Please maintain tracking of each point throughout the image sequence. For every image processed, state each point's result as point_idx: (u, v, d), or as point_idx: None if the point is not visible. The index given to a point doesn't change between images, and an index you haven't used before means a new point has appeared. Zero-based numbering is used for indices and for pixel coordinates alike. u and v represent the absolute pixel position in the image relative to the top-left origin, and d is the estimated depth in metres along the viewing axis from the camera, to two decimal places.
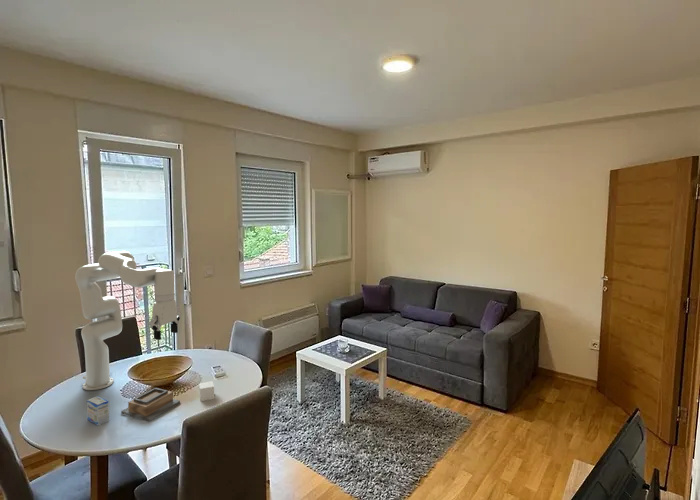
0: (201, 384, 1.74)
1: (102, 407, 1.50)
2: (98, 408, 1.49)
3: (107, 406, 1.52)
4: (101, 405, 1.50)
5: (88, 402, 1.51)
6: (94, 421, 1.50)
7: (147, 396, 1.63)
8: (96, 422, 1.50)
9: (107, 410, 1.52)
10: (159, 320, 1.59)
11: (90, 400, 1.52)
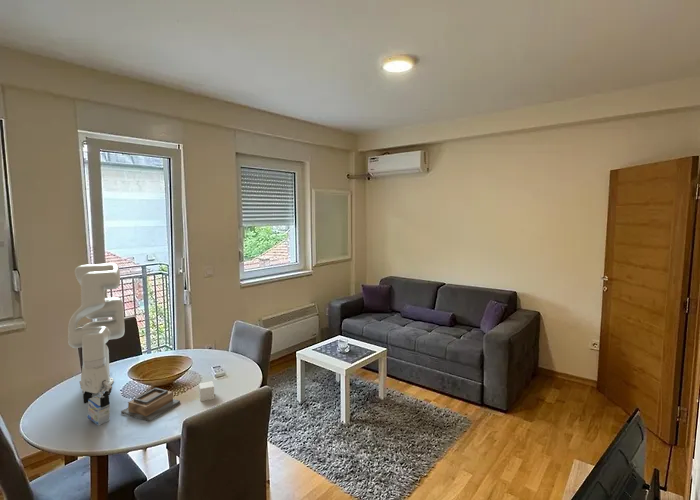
0: (201, 384, 1.74)
1: (103, 408, 1.50)
2: (99, 409, 1.48)
3: (108, 407, 1.51)
4: None
5: (89, 401, 1.51)
6: (94, 420, 1.50)
7: (147, 396, 1.63)
8: (96, 422, 1.50)
9: (108, 410, 1.52)
10: None
11: (91, 399, 1.51)
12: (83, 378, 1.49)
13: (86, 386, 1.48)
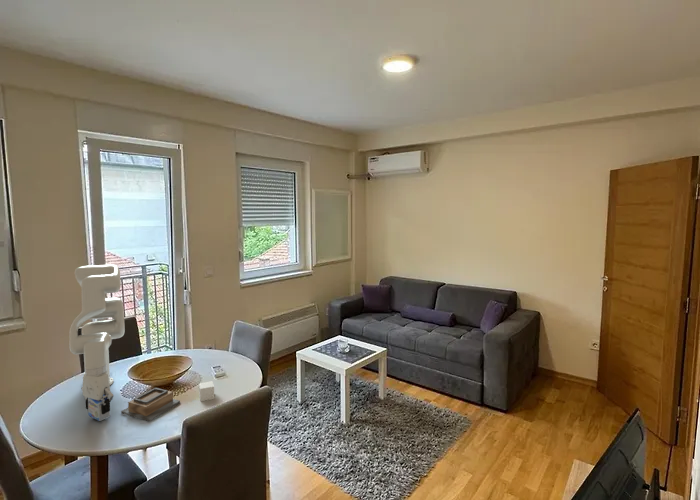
0: (201, 384, 1.74)
1: None
2: (99, 405, 1.50)
3: None
4: None
5: (89, 398, 1.52)
6: (95, 417, 1.51)
7: (147, 396, 1.63)
8: (97, 418, 1.51)
9: None
10: None
11: None
12: (85, 385, 1.50)
13: (88, 392, 1.50)
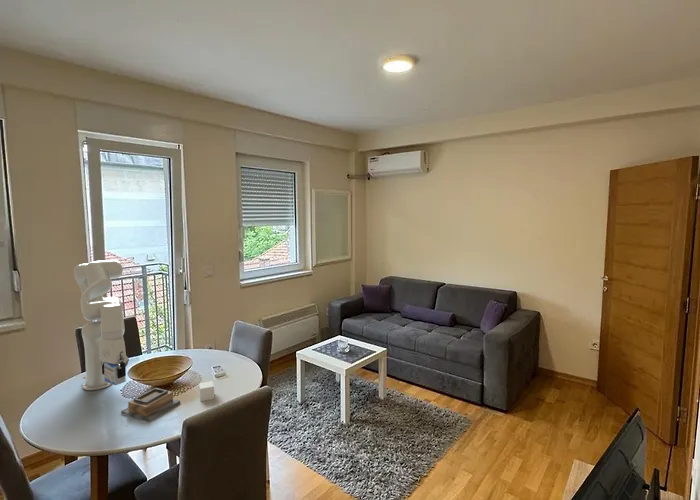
0: (201, 384, 1.74)
1: None
2: (115, 369, 1.51)
3: None
4: None
5: (105, 363, 1.54)
6: (111, 381, 1.52)
7: (147, 396, 1.63)
8: (113, 382, 1.52)
9: None
10: None
11: None
12: (101, 349, 1.52)
13: (104, 357, 1.51)
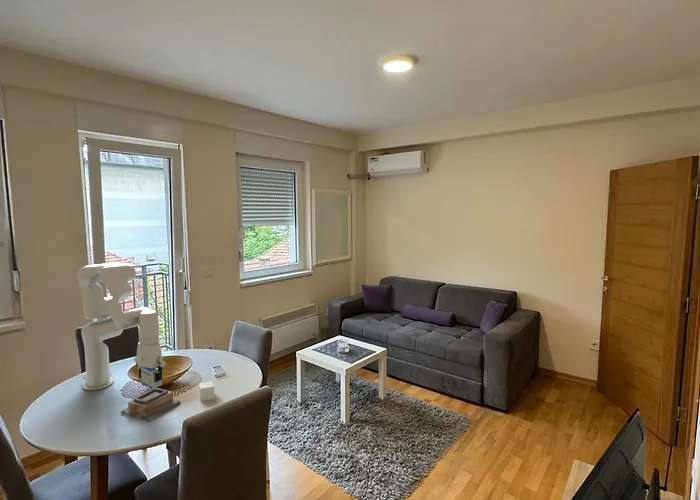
0: (201, 384, 1.74)
1: None
2: (152, 373, 1.58)
3: None
4: None
5: (142, 367, 1.61)
6: (148, 385, 1.60)
7: (147, 396, 1.63)
8: (150, 386, 1.59)
9: None
10: None
11: None
12: (139, 354, 1.59)
13: (142, 361, 1.59)
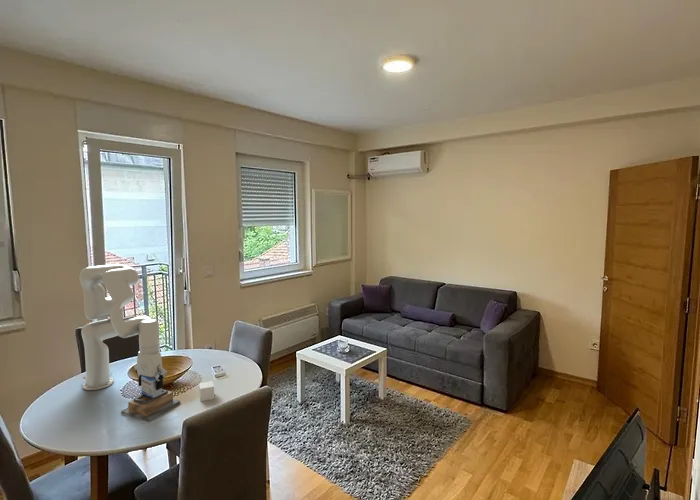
0: (201, 384, 1.74)
1: None
2: (153, 382, 1.59)
3: None
4: (155, 379, 1.60)
5: (142, 377, 1.61)
6: (148, 394, 1.60)
7: (147, 396, 1.63)
8: (151, 395, 1.60)
9: None
10: None
11: None
12: (139, 363, 1.59)
13: (142, 370, 1.59)
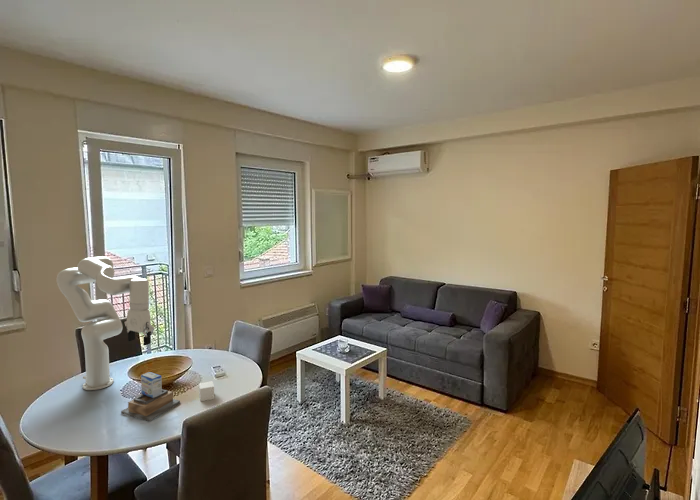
0: (201, 384, 1.74)
1: (156, 381, 1.60)
2: (153, 382, 1.59)
3: (160, 380, 1.62)
4: (155, 379, 1.60)
5: (142, 377, 1.61)
6: (148, 394, 1.60)
7: (147, 396, 1.63)
8: (151, 395, 1.60)
9: (160, 384, 1.62)
10: None
11: (144, 375, 1.62)
12: (129, 319, 1.68)
13: (131, 326, 1.68)
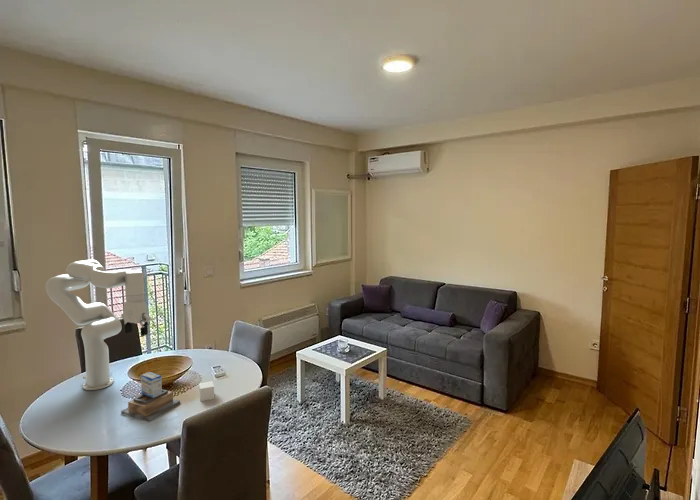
0: (201, 384, 1.74)
1: (156, 381, 1.60)
2: (153, 382, 1.59)
3: (160, 380, 1.62)
4: (155, 379, 1.60)
5: (142, 377, 1.61)
6: (148, 394, 1.60)
7: (147, 396, 1.63)
8: (151, 395, 1.60)
9: (160, 384, 1.62)
10: None
11: (144, 375, 1.62)
12: (125, 310, 1.72)
13: (128, 317, 1.72)
